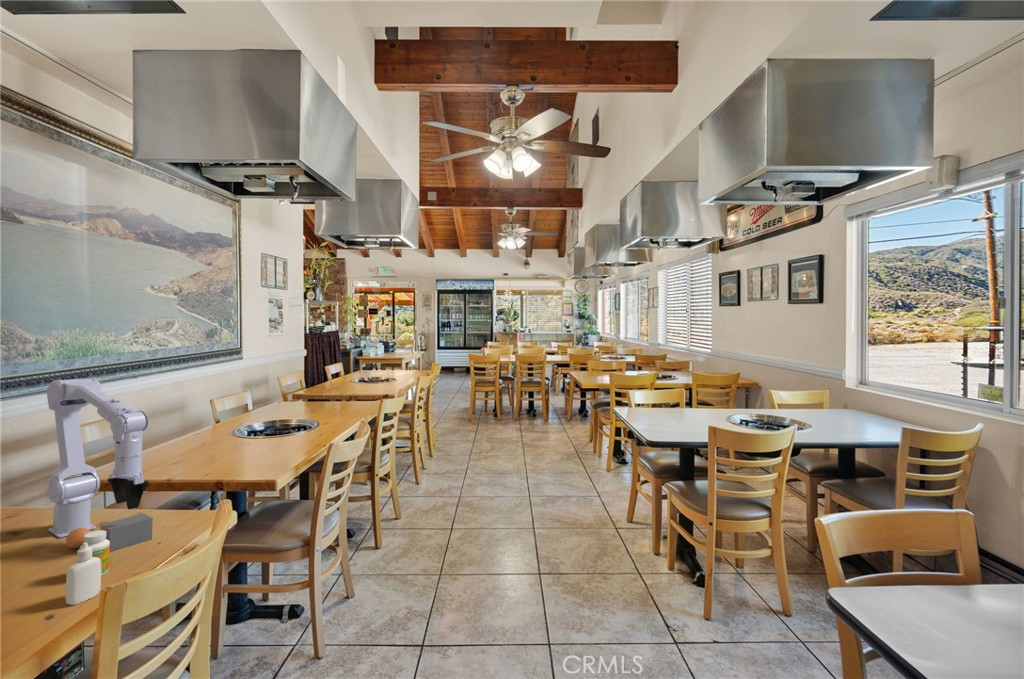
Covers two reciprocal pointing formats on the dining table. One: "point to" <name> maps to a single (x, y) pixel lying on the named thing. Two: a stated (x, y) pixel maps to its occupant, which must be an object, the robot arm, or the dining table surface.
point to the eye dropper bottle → (83, 577)
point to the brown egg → (76, 537)
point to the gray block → (128, 531)
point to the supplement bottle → (99, 548)
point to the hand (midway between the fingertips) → (127, 505)
